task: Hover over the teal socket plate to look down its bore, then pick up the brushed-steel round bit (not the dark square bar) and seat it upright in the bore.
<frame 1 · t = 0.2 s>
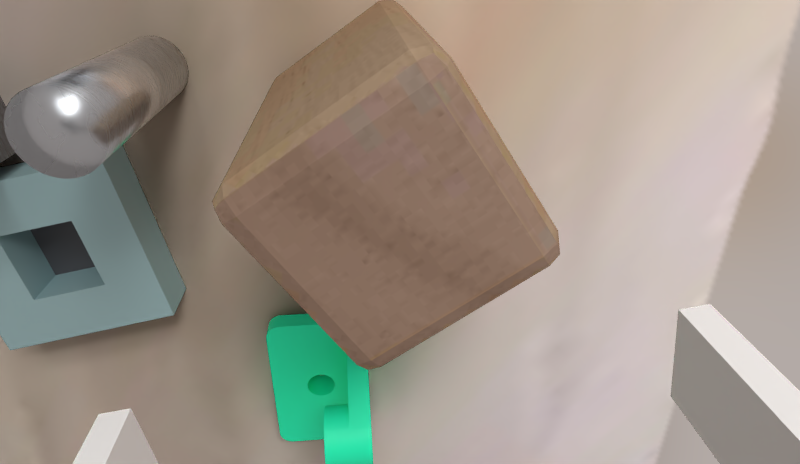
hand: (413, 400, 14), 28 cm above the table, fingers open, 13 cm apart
round bit: (155, 68, 36), on the table
socket plate: (74, 237, 41), on the table
wooden block: (371, 101, 38), on the table
camera mount: (322, 362, 48), on the table
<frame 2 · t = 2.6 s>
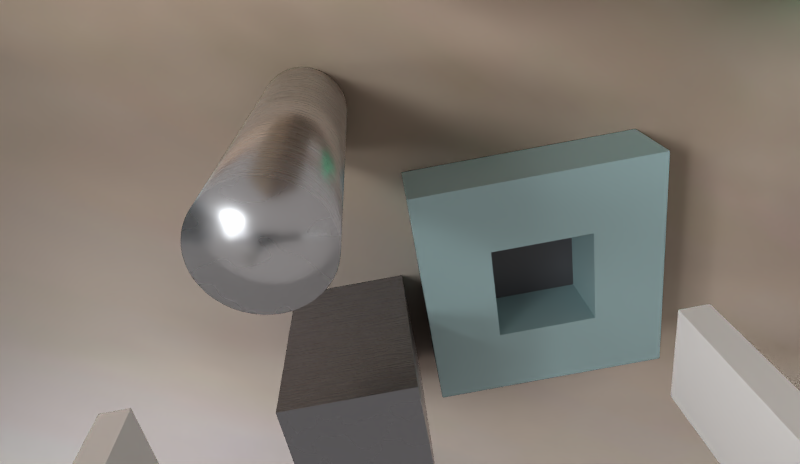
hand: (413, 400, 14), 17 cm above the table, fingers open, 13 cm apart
round bit: (304, 110, 27), on the table
socket plate: (526, 252, 31), on the table
square bit: (359, 327, 33), on the table
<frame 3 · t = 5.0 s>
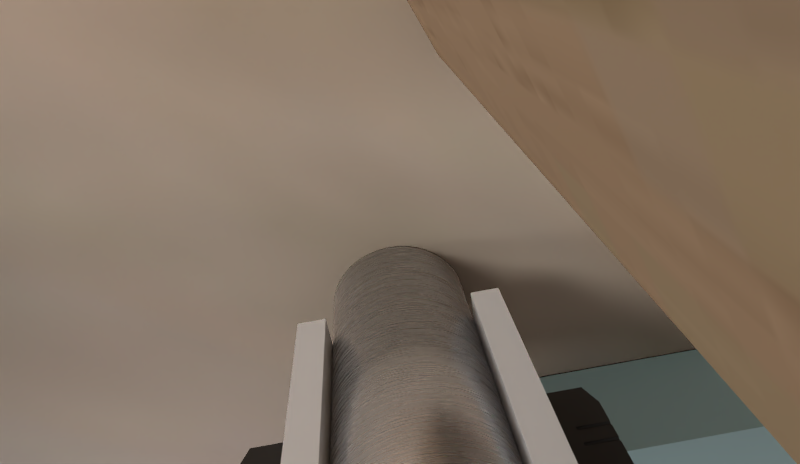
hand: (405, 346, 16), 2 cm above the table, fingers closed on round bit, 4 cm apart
round bit: (399, 303, 17), on the table, touching gripper
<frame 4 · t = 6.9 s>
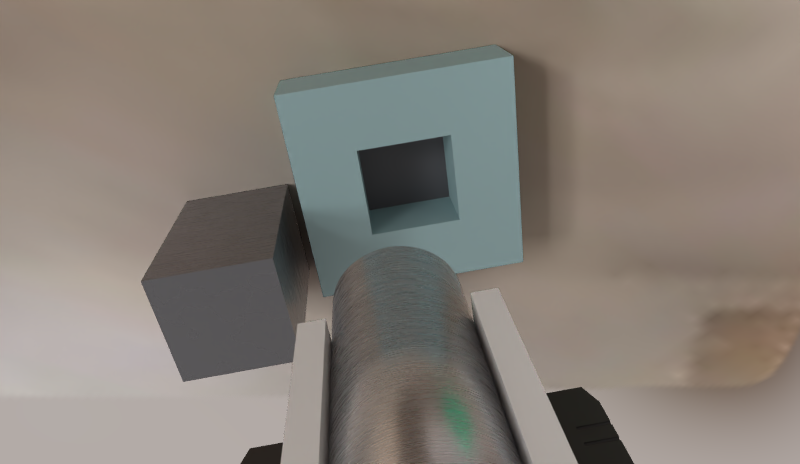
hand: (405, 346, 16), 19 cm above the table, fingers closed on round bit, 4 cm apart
round bit: (398, 303, 17), point 17 cm above the table, touching gripper
socket plate: (403, 164, 34), on the table
square bit: (250, 236, 35), on the table
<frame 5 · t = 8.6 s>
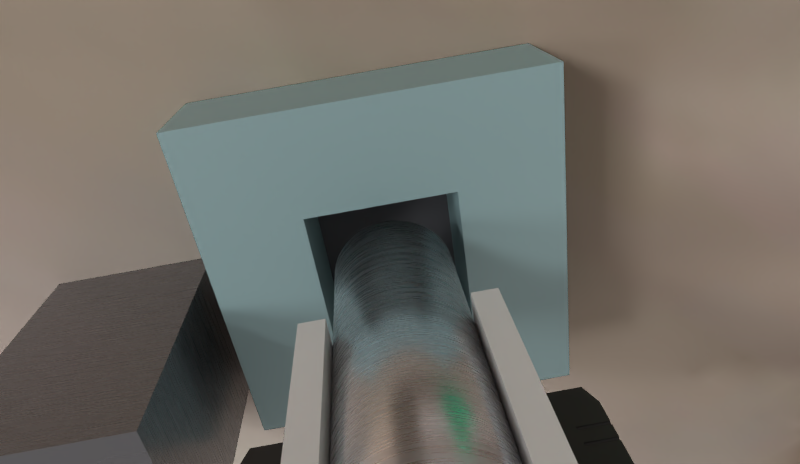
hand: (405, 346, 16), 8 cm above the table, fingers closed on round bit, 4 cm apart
round bit: (394, 274, 19), point 4 cm above the table, touching gripper
socket plate: (386, 226, 22), on the table
square bit: (161, 331, 24), on the table
when the fingers open (5 cm above the table, at t = 9.2 s): round bit stays where it is, resting on socket plate.
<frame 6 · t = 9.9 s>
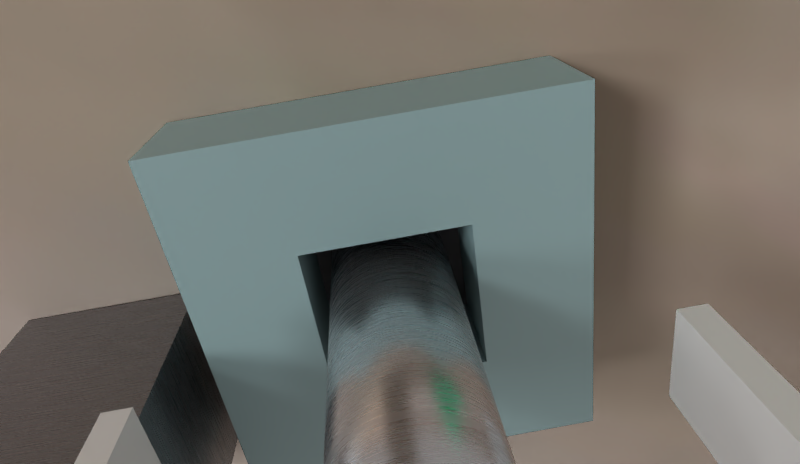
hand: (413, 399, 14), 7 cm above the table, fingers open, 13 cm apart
round bit: (388, 258, 20), resting on socket plate
socket plate: (390, 255, 20), on the table
square bit: (142, 370, 21), on the table, touching gripper
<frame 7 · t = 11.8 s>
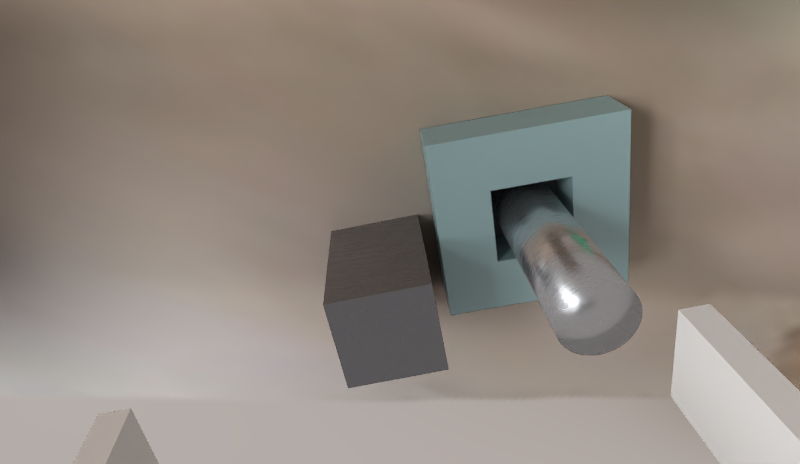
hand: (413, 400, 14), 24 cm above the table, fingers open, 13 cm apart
round bit: (519, 199, 38), resting on socket plate
socket plate: (519, 198, 38), on the table
square bit: (383, 260, 40), on the table
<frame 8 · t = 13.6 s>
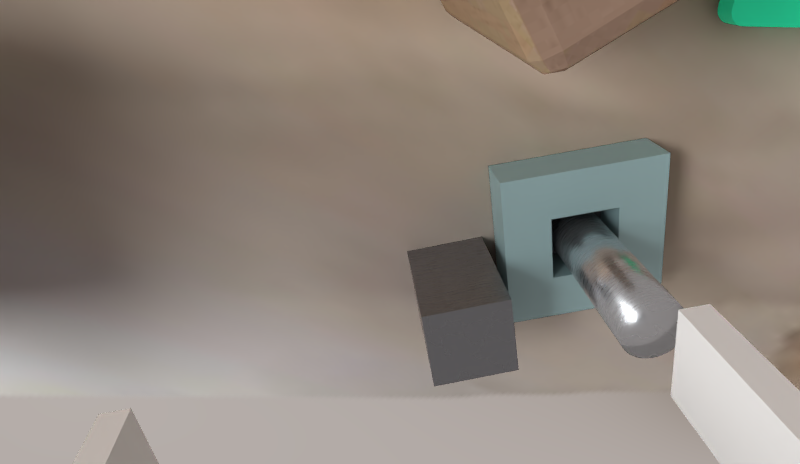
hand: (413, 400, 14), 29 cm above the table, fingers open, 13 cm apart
round bit: (568, 224, 45), resting on socket plate
socket plate: (568, 223, 45), on the table
square bit: (449, 275, 46), on the table
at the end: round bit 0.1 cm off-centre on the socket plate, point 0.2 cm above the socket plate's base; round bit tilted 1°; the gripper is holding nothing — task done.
